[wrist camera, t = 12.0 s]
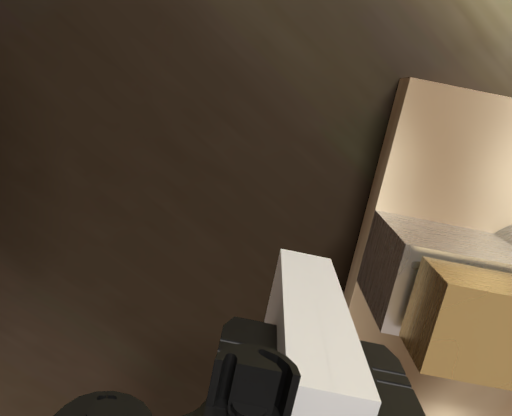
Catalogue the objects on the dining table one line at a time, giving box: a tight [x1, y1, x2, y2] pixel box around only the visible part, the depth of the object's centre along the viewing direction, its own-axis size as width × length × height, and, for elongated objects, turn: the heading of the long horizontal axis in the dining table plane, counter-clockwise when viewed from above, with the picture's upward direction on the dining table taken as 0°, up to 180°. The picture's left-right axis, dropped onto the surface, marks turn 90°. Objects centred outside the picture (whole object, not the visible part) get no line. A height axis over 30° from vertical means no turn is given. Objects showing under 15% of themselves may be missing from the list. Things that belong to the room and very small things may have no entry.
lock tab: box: [399, 256, 512, 391], centre depth 14 cm, size 4×3×2 cm
